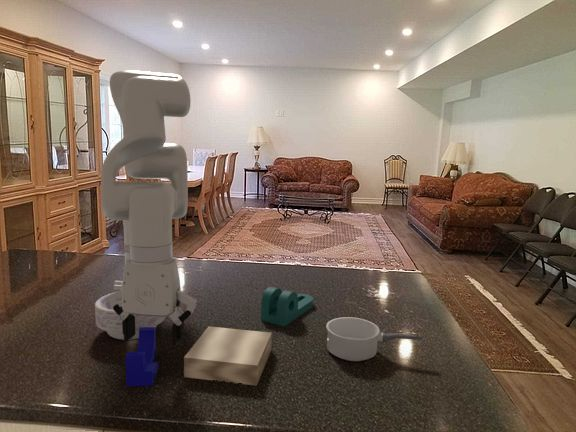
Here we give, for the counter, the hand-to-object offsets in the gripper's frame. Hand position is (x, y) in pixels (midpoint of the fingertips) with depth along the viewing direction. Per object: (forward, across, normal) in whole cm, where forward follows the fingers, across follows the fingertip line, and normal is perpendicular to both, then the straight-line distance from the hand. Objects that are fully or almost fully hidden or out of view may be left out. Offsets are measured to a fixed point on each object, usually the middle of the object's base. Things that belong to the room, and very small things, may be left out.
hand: (153, 340), depth 84 cm
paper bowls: (+6, -12, +15) cm, 20 cm away
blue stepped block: (+6, -2, 0) cm, 7 cm away
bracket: (+6, +22, +35) cm, 41 cm away
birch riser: (+6, +14, +6) cm, 16 cm away
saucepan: (+7, +42, +16) cm, 45 cm away
